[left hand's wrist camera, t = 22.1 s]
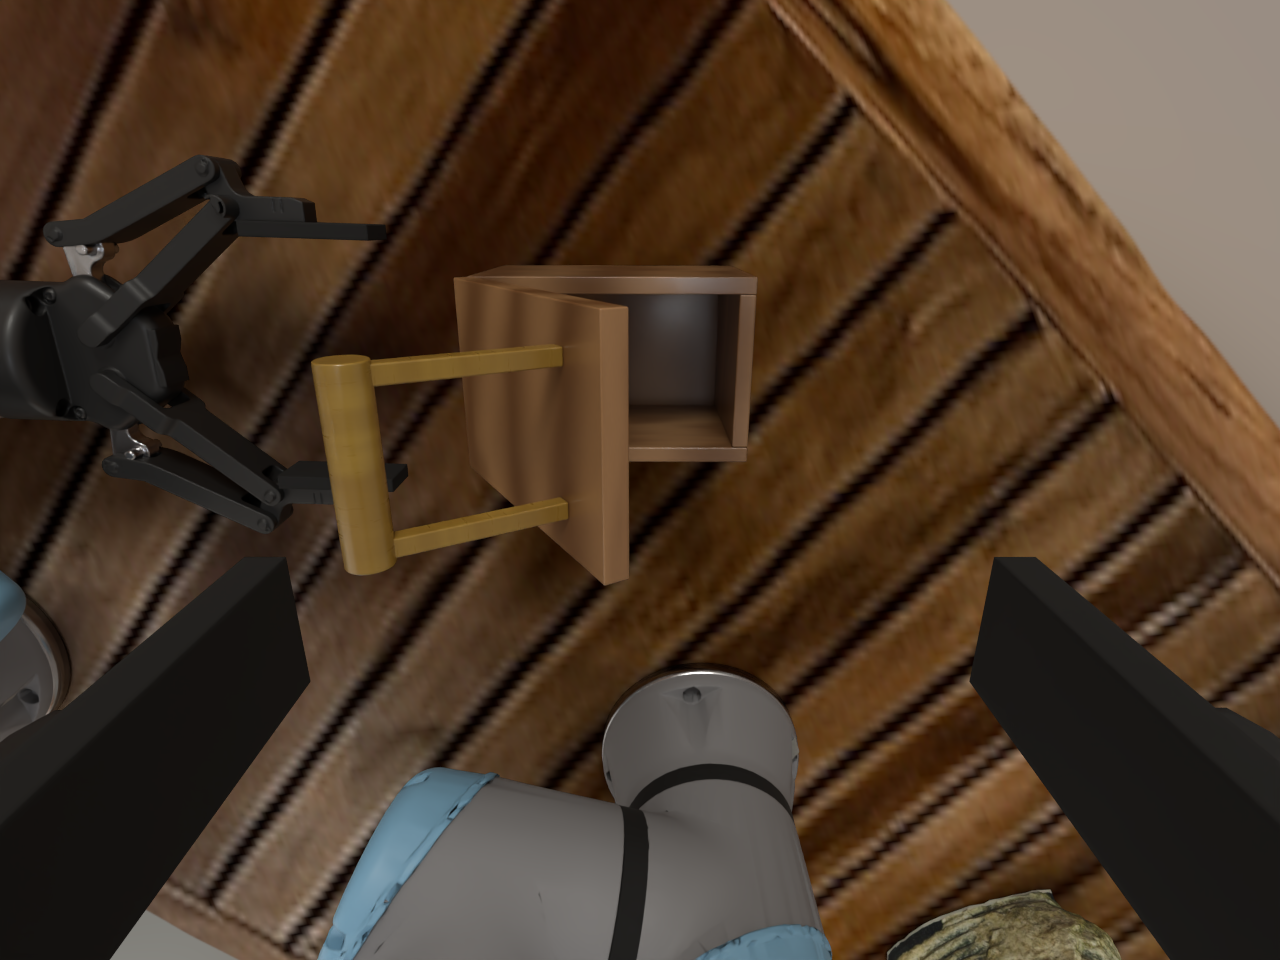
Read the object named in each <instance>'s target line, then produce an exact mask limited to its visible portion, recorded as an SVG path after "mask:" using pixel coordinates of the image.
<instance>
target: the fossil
mask: <svg viewBox="0 0 1280 960" xmlns="http://www.w3.org/2000/svg"><path fill="white" fill-rule="evenodd" d="M887 960H1121V957H1120V955H1119V952H1118V950H1117V948H1116V947H1115V945H1114V943H1113V941H1112V939H1111V937H1110V936H1109V935H1108V934H1107V933H1106V932H1104V931H1103V930H1102V929H1100V928H1099V927H1098V926H1096V925H1095V924H1093V923H1091V922H1089V921H1087V920H1085V919H1084V918H1082V917H1081V916H1080V915H1078V914H1074V913H1071V912H1068V911H1066V910H1064V909H1062V908H1061V907H1060V905H1059V904H1058V903H1057V902H1056V901H1055V900H1054V897H1053V895H1052V892H1051V890H1034V891H1029V892H1026V893H1022V894H1015V895H1011V896H1007V897H1003V898H999V899H994V900H989V901H987V902H986V903H984V904H978V905H972V906H968V907H965V908H962V909H959V910H956V911H954V912H951V913H948V914H945V915H942V916H940V917H938V918H935V919H933V920H930V921H929V922H927V923H925V924H923V925H921V926H920V927H919V928H917V929H916V930H914V931H913V932H911V933H910V934H908V935H907V937H906V938H905V939H903V940H901V941H899V942H898V943H897V944H895V945H894V946H893V947H892V948H891V949H890V950H889V951H888V952H887Z"/></svg>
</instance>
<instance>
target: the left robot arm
mask: <svg viewBox="0 0 1280 960" xmlns="http://www.w3.org/2000/svg"><path fill="white" fill-rule="evenodd" d="M309 683H310V677H309V672H308V667H307V661H306V656H305V651H304V646H303V641H302V636H301V631H300V626H299V621H298V616H297V611H296V606H295V601H294V596H293V591H292V586H291V581H290V576H289V571H288V566H287V561H286V557H244V558H243V559H242V560H240V561H239V562H238V563H237V564H236V565H234V566H233V567H232V568H231V569H230V570H228V571H227V572H226V573H225V574H224V575H223V576H221V577H220V578H219V579H218V580H217V581H215V582H214V583H213V584H212V585H211V586H209V587H208V588H207V589H206V590H205V591H203V592H202V593H201V594H200V595H199V596H198V597H196V598H195V599H194V600H193V601H192V602H190V603H189V604H188V605H187V606H186V607H184V608H183V609H182V610H181V611H180V612H178V613H177V614H176V615H175V616H174V617H173V618H171V619H170V620H169V621H168V622H167V623H165V624H164V625H163V626H162V627H161V628H159V629H158V630H157V631H156V632H155V633H153V634H152V635H151V636H150V637H149V638H147V639H146V640H145V641H144V642H143V643H142V644H140V645H139V646H138V647H137V648H136V649H134V650H133V651H132V652H131V653H130V654H128V655H127V656H126V657H125V658H124V659H122V660H121V661H120V662H119V663H118V664H117V665H115V666H114V667H113V668H112V669H111V670H109V671H108V672H107V673H106V674H105V675H103V676H102V677H101V678H100V679H99V680H97V681H96V682H95V683H94V684H93V685H91V686H90V687H89V688H88V689H87V690H86V691H84V692H83V693H82V694H81V695H80V696H78V697H77V698H76V699H75V700H74V701H72V702H71V703H70V704H69V705H68V706H66V707H65V708H64V709H63V710H54V711H52V712H50V713H48V714H47V715H45V716H43V717H41V718H39V719H38V720H36V721H34V722H32V723H30V724H28V725H27V726H25V727H23V728H21V729H19V730H18V731H16V732H14V733H12V734H10V735H9V736H8V737H6V738H5V739H4V740H3V741H1V742H0V960H110V959H111V957H112V956H113V954H114V953H115V952H116V950H117V949H118V948H119V946H120V945H121V943H122V942H123V941H124V939H125V938H126V936H127V935H128V934H129V932H130V931H131V929H132V928H133V927H134V925H135V924H136V923H137V921H138V920H139V918H140V917H141V916H142V914H143V913H144V911H145V910H146V909H147V907H148V906H149V905H150V903H151V902H152V900H153V899H154V898H155V896H156V895H157V893H158V892H159V891H160V889H161V888H162V887H163V885H164V884H165V882H166V881H167V880H168V878H169V877H170V875H171V874H172V873H173V871H174V870H175V869H176V867H177V866H178V864H179V863H180V862H181V860H182V859H183V857H184V856H185V855H186V853H187V852H188V851H189V849H190V848H191V846H192V845H193V844H194V842H195V841H196V839H197V838H198V837H199V835H200V834H201V833H202V831H203V830H204V828H205V827H206V826H207V824H208V823H209V821H210V820H211V819H212V817H213V816H214V815H215V813H216V812H217V810H218V809H219V808H220V806H221V805H222V803H223V802H224V801H225V799H226V798H227V797H228V795H229V794H230V792H231V791H232V790H233V788H234V787H235V785H236V784H237V783H238V781H239V780H240V779H241V777H242V776H243V774H244V773H245V772H246V770H247V769H248V767H249V766H250V765H251V763H252V762H253V760H254V759H255V758H256V756H257V755H258V754H259V752H260V751H261V749H262V748H263V747H264V745H265V744H266V742H267V741H268V740H269V738H270V737H271V736H272V734H273V733H274V731H275V730H276V729H277V727H278V726H279V724H280V723H281V722H282V720H283V719H284V718H285V716H286V715H287V713H288V712H289V711H290V709H291V708H292V706H293V705H294V704H295V702H296V701H297V700H298V698H299V697H300V695H301V694H302V693H303V691H304V690H305V688H306V687H307V686H308V684H309ZM970 683H971V684H972V686H973V687H974V688H975V690H976V691H977V693H978V694H979V695H980V697H981V698H982V700H983V701H984V702H985V704H986V705H987V706H988V708H989V709H990V711H991V712H992V713H993V715H994V716H995V718H996V719H997V720H998V722H999V723H1000V724H1001V726H1002V727H1003V729H1004V730H1005V731H1006V733H1007V734H1008V736H1009V737H1010V738H1011V740H1012V741H1013V742H1014V744H1015V745H1016V747H1017V748H1018V749H1019V751H1020V752H1021V754H1022V755H1023V756H1024V758H1025V759H1026V760H1027V762H1028V763H1029V765H1030V766H1031V767H1032V769H1033V770H1034V772H1035V773H1036V774H1037V776H1038V777H1039V779H1040V780H1041V781H1042V783H1043V784H1044V785H1045V787H1046V788H1047V790H1048V791H1049V792H1050V794H1051V795H1052V797H1053V798H1054V799H1055V801H1056V802H1057V803H1058V805H1059V806H1060V808H1061V809H1062V810H1063V812H1064V813H1065V815H1066V816H1067V817H1068V819H1069V820H1070V821H1071V823H1072V824H1073V826H1074V827H1075V828H1076V830H1077V831H1078V833H1079V834H1080V835H1081V837H1082V838H1083V839H1084V841H1085V842H1086V844H1087V845H1088V846H1089V848H1090V849H1091V851H1092V852H1093V853H1094V855H1095V856H1096V857H1097V859H1098V860H1099V862H1100V863H1101V864H1102V866H1103V867H1104V869H1105V870H1106V871H1107V873H1108V874H1109V875H1110V877H1111V878H1112V880H1113V881H1114V882H1115V884H1116V885H1117V887H1118V888H1119V889H1120V891H1121V892H1122V893H1123V895H1124V896H1125V898H1126V899H1127V900H1128V902H1129V903H1130V905H1131V906H1132V907H1133V909H1134V910H1135V911H1136V913H1137V914H1138V916H1139V917H1140V918H1141V920H1142V921H1143V923H1144V924H1145V925H1146V927H1147V928H1148V929H1149V931H1150V932H1151V934H1152V935H1153V936H1154V938H1155V939H1156V941H1157V942H1158V943H1159V945H1160V946H1161V948H1162V949H1163V950H1164V952H1165V953H1166V954H1167V956H1168V957H1169V959H1170V960H1280V739H1279V738H1278V737H1277V736H1275V735H1274V734H1273V733H1271V732H1270V731H1268V730H1266V729H1264V728H1262V727H1260V726H1259V725H1257V724H1255V723H1253V722H1251V721H1250V720H1248V719H1246V718H1244V717H1242V716H1240V715H1239V714H1237V713H1235V712H1233V711H1231V710H1229V709H1228V708H1215V707H1214V706H1212V705H1211V704H1210V703H1209V702H1208V701H1206V700H1205V699H1204V698H1203V697H1202V696H1200V695H1199V694H1198V693H1197V692H1196V691H1194V690H1193V689H1192V688H1191V687H1190V686H1189V685H1187V684H1186V683H1185V682H1184V681H1183V680H1181V679H1180V678H1179V677H1178V676H1177V675H1175V674H1174V673H1173V672H1172V671H1171V670H1169V669H1168V668H1167V667H1166V666H1165V665H1163V664H1162V663H1161V662H1160V661H1159V660H1158V659H1156V658H1155V657H1154V656H1153V655H1152V654H1150V653H1149V652H1148V651H1147V650H1146V649H1144V648H1143V647H1142V646H1141V645H1140V644H1138V643H1137V642H1136V641H1135V640H1134V639H1133V638H1131V637H1130V636H1129V635H1128V634H1127V633H1125V632H1124V631H1123V630H1122V629H1121V628H1119V627H1118V626H1117V625H1116V624H1115V623H1113V622H1112V621H1111V620H1110V619H1109V618H1107V617H1106V616H1105V615H1104V614H1103V613H1102V612H1100V611H1099V610H1098V609H1097V608H1096V607H1094V606H1093V605H1092V604H1091V603H1090V602H1088V601H1087V600H1086V599H1085V598H1084V597H1082V596H1081V595H1080V594H1079V593H1078V592H1077V591H1075V590H1074V589H1073V588H1072V587H1071V586H1069V585H1068V584H1067V583H1066V582H1065V581H1063V580H1062V579H1061V578H1060V577H1059V576H1057V575H1056V574H1055V573H1054V572H1053V571H1052V570H1050V569H1049V568H1048V567H1047V566H1046V565H1044V564H1043V563H1042V562H1041V561H1040V560H1038V559H1037V558H1036V557H994V561H993V566H992V571H991V576H990V581H989V586H988V591H987V596H986V601H985V606H984V611H983V616H982V621H981V626H980V631H979V636H978V641H977V646H976V651H975V656H974V661H973V667H972V672H971V677H970ZM798 753H799V749H798V743H797V736H796V732H795V728H794V725H793V722H792V719H791V716H790V714H789V711H788V709H787V707H786V705H785V704H784V702H783V701H782V699H781V698H780V697H779V696H778V694H777V693H776V692H775V691H774V690H773V689H772V688H771V687H770V686H768V685H767V684H766V683H765V682H763V681H762V680H760V679H759V678H757V677H755V676H754V675H752V674H750V673H747V672H745V671H743V670H740V669H737V668H734V667H730V666H726V665H721V664H714V663H689V664H682V665H677V666H672V667H668V668H665V669H662V670H660V671H657V672H655V673H653V674H650V675H649V676H647V677H645V678H643V679H642V680H640V681H639V682H637V683H636V684H634V685H633V686H632V687H631V688H629V689H628V690H627V691H626V692H625V693H624V694H623V695H622V696H621V697H620V699H619V700H618V701H617V702H616V704H615V705H614V707H613V708H612V710H611V712H610V714H609V716H608V719H607V722H606V725H605V729H604V735H603V746H602V759H603V768H604V774H605V778H606V781H607V784H608V787H609V789H610V792H611V794H612V796H613V797H614V799H615V803H610V802H606V801H601V800H597V799H592V798H588V797H583V796H579V795H574V794H570V793H565V792H561V791H556V790H552V789H547V788H543V787H538V786H534V785H530V784H526V783H521V782H517V781H513V780H509V779H505V778H501V777H499V776H500V775H498V774H496V773H492V772H490V773H487V774H480V773H473V772H467V771H460V770H454V769H449V768H443V767H437V768H431V769H427V770H425V771H422V772H420V773H418V774H417V775H416V776H414V777H413V778H412V779H411V780H409V781H408V782H407V783H406V785H405V786H404V787H403V788H402V789H401V791H400V792H399V793H398V795H397V796H396V797H395V799H394V800H393V802H392V803H391V805H390V806H389V808H388V809H387V811H386V813H385V814H384V816H383V818H382V819H381V821H380V823H379V825H378V826H377V828H376V830H375V832H374V833H373V835H372V837H371V839H370V841H369V843H368V845H367V847H366V848H365V850H364V852H363V854H362V856H361V858H360V860H359V862H358V864H357V866H356V868H355V871H354V873H353V875H352V877H351V879H350V881H349V883H348V885H347V887H346V890H345V892H344V894H343V896H342V898H341V901H340V903H339V906H338V908H337V910H336V913H335V915H334V918H333V926H332V927H331V929H330V931H329V933H328V936H327V938H326V941H325V943H324V945H323V947H322V949H321V951H320V954H319V957H318V960H832V953H831V947H830V944H829V942H828V940H827V939H826V937H825V934H824V931H823V928H822V924H821V920H820V917H819V913H818V909H817V905H816V902H815V898H814V894H813V891H812V887H811V883H810V879H809V876H808V872H807V868H806V864H805V861H804V857H803V853H802V850H801V846H800V842H799V838H798V835H797V831H796V827H795V824H794V819H793V815H792V805H793V798H794V790H795V778H796V774H797V768H798V756H799V755H798Z"/></svg>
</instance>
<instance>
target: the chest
mask: <svg viewBox="0 0 1280 960" xmlns="http://www.w3.org/2000/svg"><path fill="white" fill-rule="evenodd" d="M467 277H476V278H481V279H487V280H492V281H497V282H502V283H507V284H513V285H518V286H523V287H528V288H534V289H539V290H544V291H549V292H554V293H560V294H565V295H570V296H575V297H580V298H586V299H591V300H596V301H601V302H607V303H612V304H617V305H622V306H627V307H628V351H629V462H746V461H747V445H748V429H749V412H750V395H751V378H752V361H753V345H754V328H755V311H756V294H757V280H758V278H757V277H755V276H753V275H751V274H748V273H746V272H744V271H742V270H739V269H737V268H735V267H732V266H615V265H504V266H500V267H497V268H494V269H490V270H487V271H484V272H480V273H477V274H474V275H470V276H467Z"/></svg>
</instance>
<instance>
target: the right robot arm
mask: <svg viewBox="0 0 1280 960" xmlns="http://www.w3.org/2000/svg"><path fill="white" fill-rule="evenodd" d="M240 178H241V170H240V167H239V166H238V165H237V163H236V162H234V161H233V160H229V159H224V158H218V157H212V156H204V155H196V156H194V157H192V158H190V159H188V160H187V161H185V162H183V163H181V164H179V165H178V166H176V167H174V168H172V169H171V170H169V171H167V172H165V173H164V174H162V175H160V176H158V177H157V178H155V179H153V180H151V181H149V182H148V183H146V184H144V185H142V186H141V187H139V188H137V189H135V190H134V191H132V192H130V193H128V194H126V195H125V196H123V197H121V198H119V199H118V200H116V201H114V202H112V203H111V204H109V205H107V206H105V207H104V208H102V209H100V210H98V211H96V212H95V213H93V214H91V215H89V216H88V217H86V218H84V219H77V220H66V221H55V222H49V223H47V224H46V225H45V226H44V229H43V233H44V237H45V238H46V240H47V241H48V242H49V243H50V244H51V245H53V246H56V247H63V249H64V252H65V255H66V257H67V260H68V263H69V266H70V269H71V271H72V274H73V277H71V278H70V279H68V280H67V281H65V282H43V281H12V280H0V418H4V417H5V418H10V419H34V420H65V421H92V422H95V423H98V424H100V425H102V426H104V427H106V428H109V429H110V434H111V442H112V450H113V455H112V456H109V457H107V458H105V459H104V460H103V461H102V468H103V470H104V471H105V472H106V473H107V474H108V475H110V476H113V477H118V478H126V479H134V480H141V481H145V482H148V483H150V484H152V485H154V486H157V487H159V488H161V489H163V490H166V491H168V492H170V493H172V494H175V495H177V496H179V497H181V498H184V499H186V500H188V501H190V502H193V503H195V504H197V505H199V506H201V507H204V508H206V509H208V510H210V511H213V512H215V513H217V514H219V515H222V516H224V517H226V518H228V519H231V520H233V521H235V522H237V523H240V524H242V525H244V526H246V527H249V528H251V529H253V530H255V531H258V532H260V533H263V534H268V533H270V532H272V531H273V530H274V529H275V528H277V527H278V526H279V525H280V524H281V523H283V522H284V521H285V520H286V519H287V518H289V517H290V516H291V515H292V513H293V507H292V503H300V504H334V502H333V496H332V490H331V483H330V477H329V471H328V465H327V462H318V461H298V462H297V463H296V464H294V465H293V466H291V467H290V468H288V469H287V468H285V467H284V466H283V465H281V464H280V463H278V462H277V461H276V460H274V459H273V458H272V457H270V456H269V455H268V454H266V453H265V452H263V451H262V450H261V449H259V448H258V447H257V446H255V445H254V444H253V443H251V442H250V441H248V440H247V439H246V438H244V437H243V436H242V435H240V434H239V433H238V432H236V431H235V430H234V429H232V428H231V427H229V426H228V425H227V424H225V423H224V422H223V421H221V420H220V419H219V418H217V417H216V416H214V415H213V414H212V413H210V412H209V411H208V410H207V409H206V408H205V403H204V402H203V401H202V400H201V399H199V398H198V397H196V396H195V395H194V394H192V393H191V392H190V391H188V390H187V389H186V388H184V383H185V381H187V380H189V376H188V371H187V366H186V364H185V362H184V360H183V358H182V355H181V353H180V348H181V335H180V330H179V325H173V323H172V321H171V319H170V318H169V317H168V316H167V315H166V314H167V313H168V312H169V311H170V310H171V309H172V308H173V307H174V306H175V305H176V304H177V303H178V302H179V301H180V300H181V299H182V297H183V296H184V293H183V292H184V291H185V290H186V289H187V288H188V287H189V286H190V285H191V284H192V283H193V282H194V281H195V280H196V279H197V278H198V277H199V276H200V275H201V274H202V273H203V272H204V271H205V270H206V269H207V268H208V267H209V266H210V265H211V264H212V263H213V262H214V261H215V260H216V259H217V258H218V257H219V256H220V255H221V254H222V253H223V252H224V251H225V250H226V249H227V248H228V247H229V246H230V245H231V244H232V243H233V242H234V241H235V240H236V239H237V238H238V237H239V236H246V237H277V238H307V239H337V240H367V241H368V240H385V239H387V238H386V227H385V225H382V224H351V223H321V222H317V218H316V210H315V203H314V202H311V201H309V200H307V199H304V198H290V197H261V196H254V195H252V194H250V193H249V192H248V191H247V190H246V189H245V187H244V185H243V183H242V181H241V179H240ZM207 199H210V201H209V202H208V203H207V204H206V205H205V206H204V207H203V208H202V209H201V210H200V211H199V212H198V213H197V214H196V215H195V216H194V217H193V218H192V220H191V221H190V222H189V223H188V224H187V225H186V226H185V227H184V228H183V229H182V230H181V231H180V232H179V233H178V234H177V235H176V236H175V237H174V238H173V239H172V240H171V241H170V242H169V243H168V244H167V245H166V246H165V248H164V249H163V250H162V251H161V252H160V253H159V254H158V255H157V256H156V257H155V258H154V259H153V260H152V261H151V262H150V263H149V264H148V265H147V266H146V267H145V268H144V269H143V270H142V271H141V272H140V273H139V274H138V276H136V277H135V278H134V279H132V280H130V281H127V282H126V283H124V284H121V283H120V282H118V281H117V280H115V279H114V278H112V277H110V276H108V275H105V274H104V273H103V266H104V263H105V262H106V261H108V260H111V259H113V258H114V256H115V254H117V253H118V252H119V246H118V245H117V244H118V243H124V242H128V241H131V240H134V239H136V238H138V237H140V236H142V235H144V234H145V233H147V232H149V231H151V230H153V229H154V228H156V227H158V226H160V225H162V224H163V223H165V222H167V221H169V220H171V219H173V218H174V217H176V216H178V215H180V214H182V213H183V212H185V211H187V210H189V209H191V208H192V207H194V206H196V205H198V204H200V203H201V202H203V201H205V200H207ZM166 404H169V405H170V406H172V407H171V408H163V407H164V406H165V405H166ZM142 423H143V424H144V425H146V426H147V427H149V428H150V429H151V430H153V431H155V432H156V433H159V434H163V435H169V436H171V437H172V438H174V439H175V440H176V441H178V442H179V443H181V444H182V445H183V446H185V447H186V448H188V449H189V450H190V451H192V452H193V453H195V454H196V455H197V456H199V457H200V458H202V459H203V460H204V461H206V462H207V463H209V464H210V465H211V466H209V465H207V464H205V463H203V462H201V461H198V460H196V459H194V458H192V457H190V456H187V455H185V454H183V453H180V452H178V451H175V450H172V449H168V448H163V447H161V446H162V443H161V442H160V440H158V439H154V440H153V439H151V438H148V437H146V436H144V435H143V434H142V433H141V432H140V430H139V427H138V425H139V424H142ZM384 464H385V463H384ZM212 466H213V467H212ZM385 472H386V479H387V487H388V492H394V491H395V490H396V488H397V487H398V486H399V485H400V484H401V483H402V482H403V481H404V480H405V479H406V478H407V477H408V468H407V464H385ZM69 681H70V667H69V660H68V656H67V653H66V650H65V647H64V644H63V642H62V640H61V638H60V636H59V634H58V632H57V631H56V629H55V628H54V626H53V625H52V623H51V622H50V620H49V619H48V618H47V617H46V616H45V614H44V613H43V612H42V611H41V610H40V609H39V608H38V607H37V606H36V605H35V604H34V603H33V602H32V601H31V600H30V599H29V598H27V597H26V596H25V593H24V592H23V590H22V589H21V587H20V586H19V585H18V584H17V583H15V582H14V581H13V580H12V579H10V578H9V577H8V576H7V575H5V574H4V573H3V572H2V571H1V570H0V742H1V741H3V740H4V739H5V738H6V737H8V736H9V735H10V734H12V733H14V732H16V731H18V730H19V729H21V728H23V727H25V726H27V725H28V724H30V723H32V722H34V721H36V720H38V719H39V718H41V717H43V716H45V715H47V714H48V713H50V712H52V711H54V710H57V709H58V708H59V707H60V705H61V704H62V702H63V700H64V698H65V696H66V694H67V691H68V687H69Z"/></svg>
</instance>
